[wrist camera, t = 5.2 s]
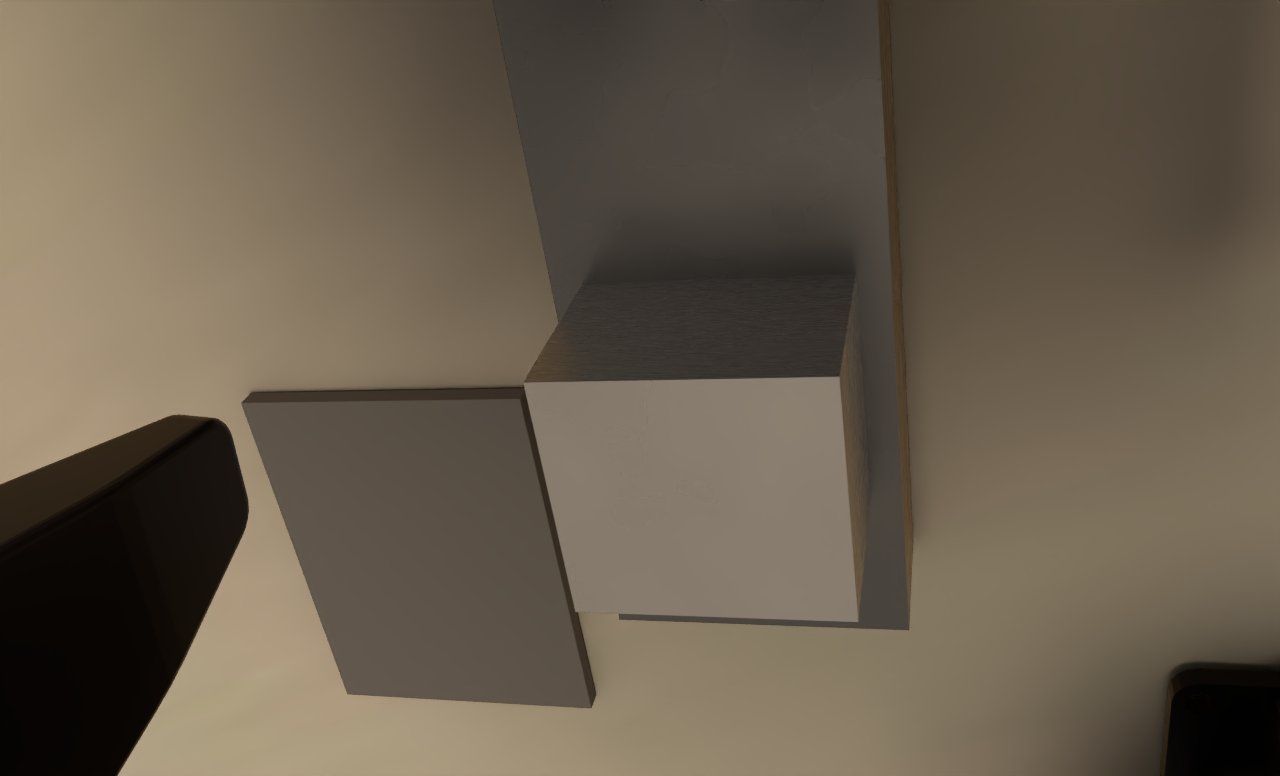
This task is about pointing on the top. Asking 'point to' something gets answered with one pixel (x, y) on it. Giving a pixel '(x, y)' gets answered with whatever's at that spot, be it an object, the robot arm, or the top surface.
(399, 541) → the rubber pad
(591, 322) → the lever cap
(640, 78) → the plane body
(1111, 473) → the top surface
